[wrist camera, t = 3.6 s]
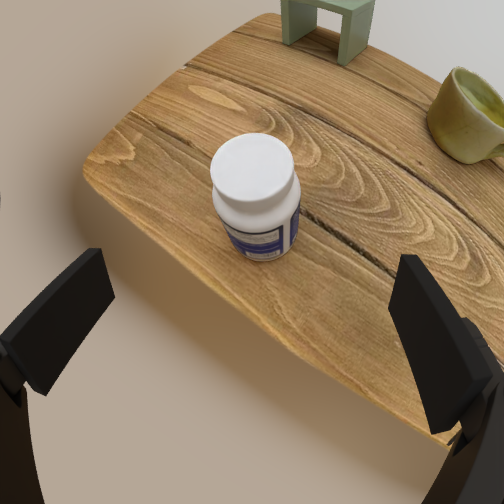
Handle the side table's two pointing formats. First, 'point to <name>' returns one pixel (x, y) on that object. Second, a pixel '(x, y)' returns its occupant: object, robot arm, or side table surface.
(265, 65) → the side table surface
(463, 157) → the mug
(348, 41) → the shelf
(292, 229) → the pill bottle
